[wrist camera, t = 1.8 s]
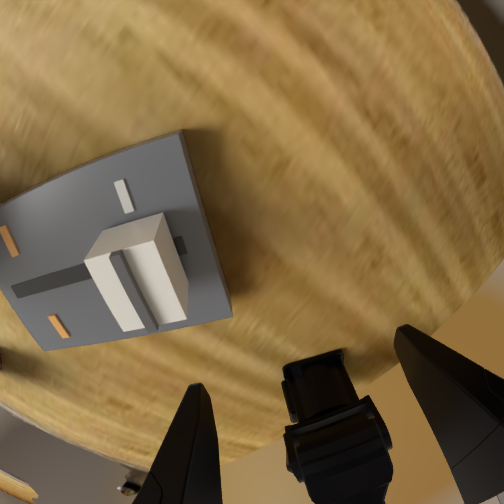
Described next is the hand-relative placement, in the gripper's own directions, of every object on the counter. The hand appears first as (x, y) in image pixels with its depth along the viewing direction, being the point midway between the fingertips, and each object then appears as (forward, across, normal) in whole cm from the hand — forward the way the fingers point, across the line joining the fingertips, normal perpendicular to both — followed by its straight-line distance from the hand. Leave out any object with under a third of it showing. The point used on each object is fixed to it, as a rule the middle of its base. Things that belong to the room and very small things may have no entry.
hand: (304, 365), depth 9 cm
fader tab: (+10, +7, 0) cm, 12 cm away
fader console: (+13, +12, 0) cm, 18 cm away
